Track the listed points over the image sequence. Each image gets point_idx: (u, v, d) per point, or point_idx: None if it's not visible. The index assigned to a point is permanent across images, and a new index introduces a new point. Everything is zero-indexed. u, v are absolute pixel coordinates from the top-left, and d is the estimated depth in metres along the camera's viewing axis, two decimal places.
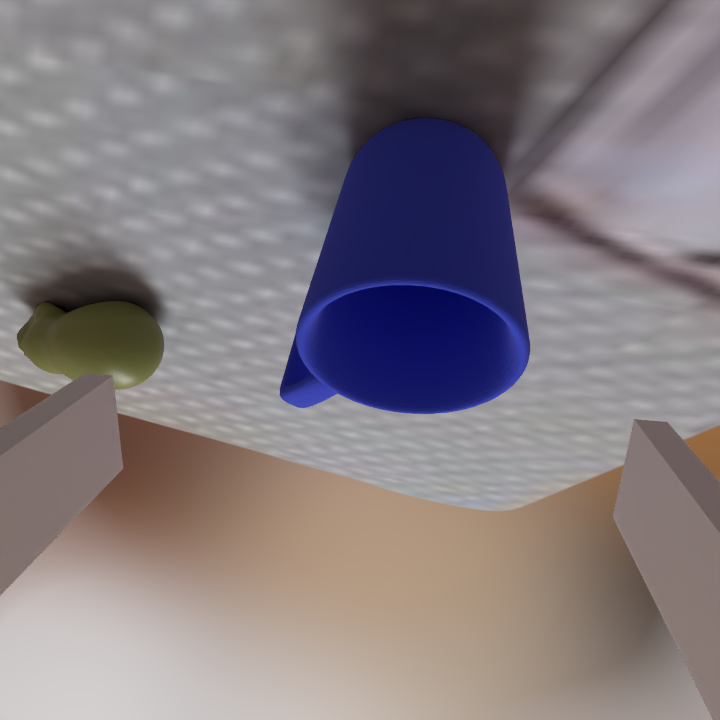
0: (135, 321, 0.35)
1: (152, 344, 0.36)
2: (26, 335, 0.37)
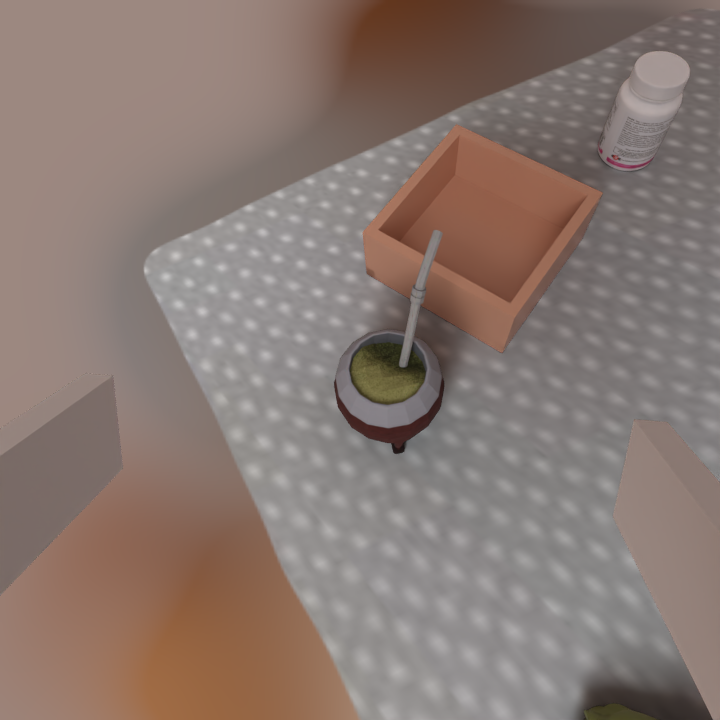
0: None
1: None
2: (621, 713, 0.32)
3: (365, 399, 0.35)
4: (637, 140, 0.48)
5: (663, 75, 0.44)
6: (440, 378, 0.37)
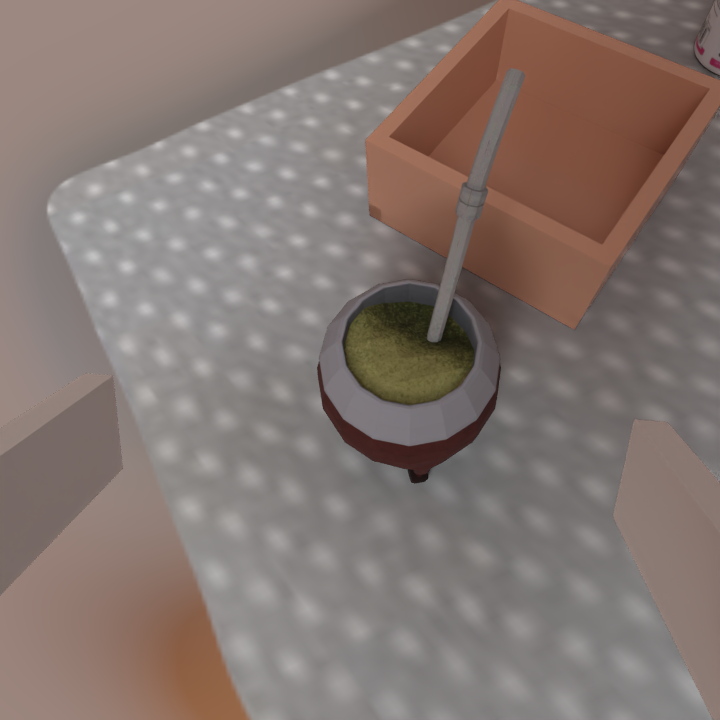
0: None
1: None
2: None
3: (370, 395, 0.20)
4: None
5: None
6: (498, 361, 0.22)
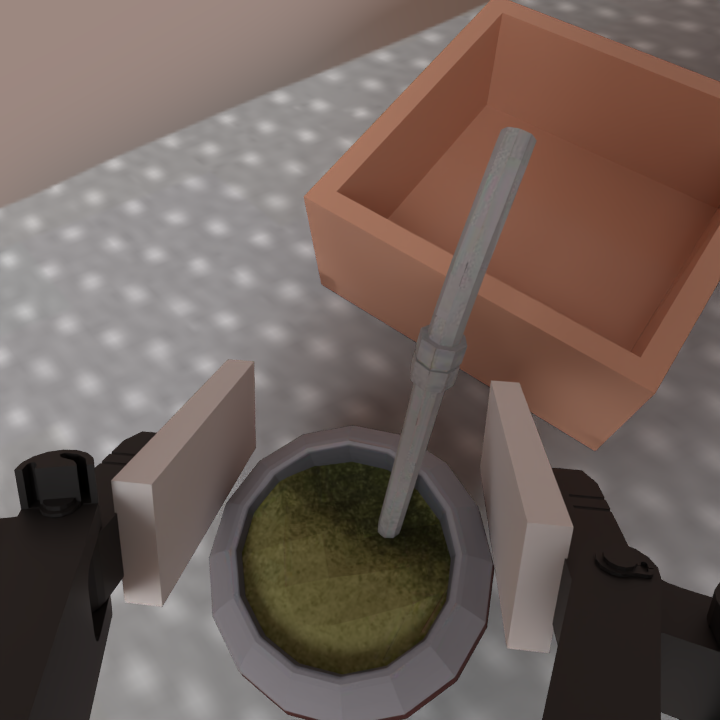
0: None
1: None
2: None
3: (275, 656, 0.12)
4: None
5: None
6: (489, 572, 0.14)
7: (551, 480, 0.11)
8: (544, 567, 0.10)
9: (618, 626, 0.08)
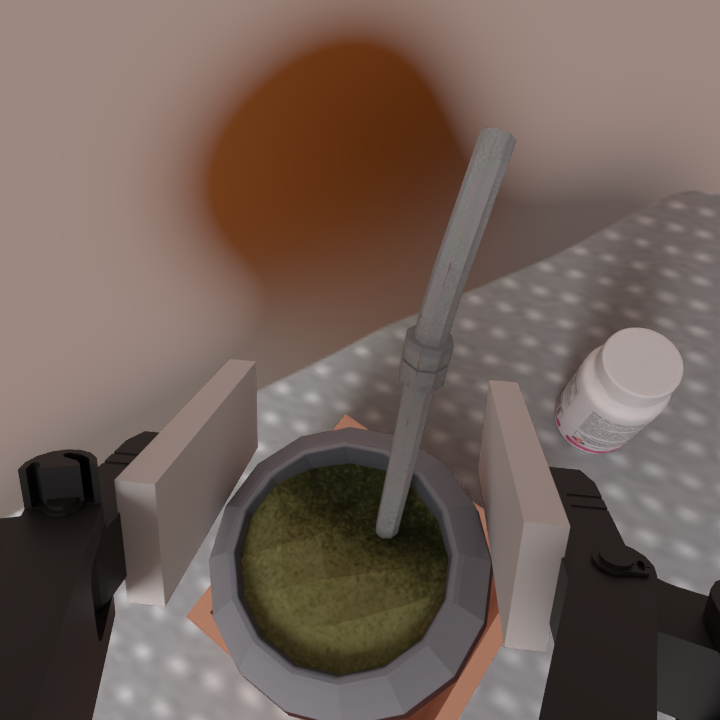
0: None
1: None
2: None
3: (273, 656, 0.12)
4: (606, 435, 0.33)
5: (644, 375, 0.30)
6: (487, 571, 0.14)
7: (548, 479, 0.11)
8: (541, 566, 0.10)
9: (614, 625, 0.08)
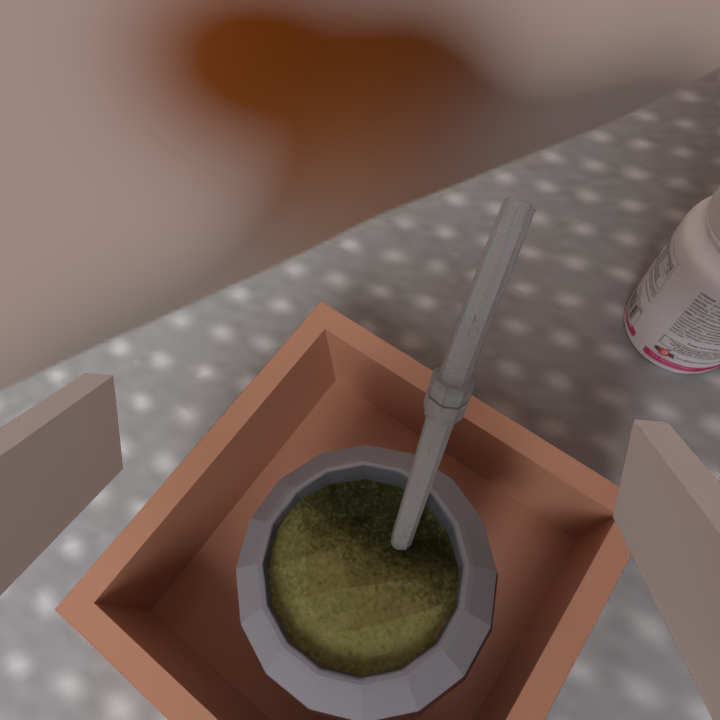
0: None
1: None
2: None
3: (301, 660, 0.13)
4: (716, 334, 0.22)
5: None
6: (493, 580, 0.15)
7: None
8: None
9: None
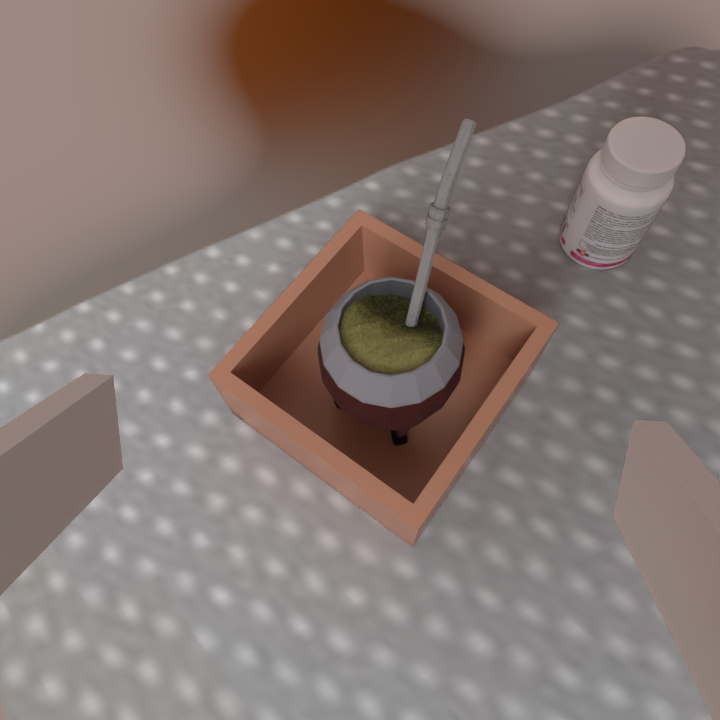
0: None
1: None
2: None
3: (360, 367, 0.26)
4: (610, 235, 0.34)
5: (648, 154, 0.31)
6: (461, 342, 0.27)
7: None
8: None
9: None
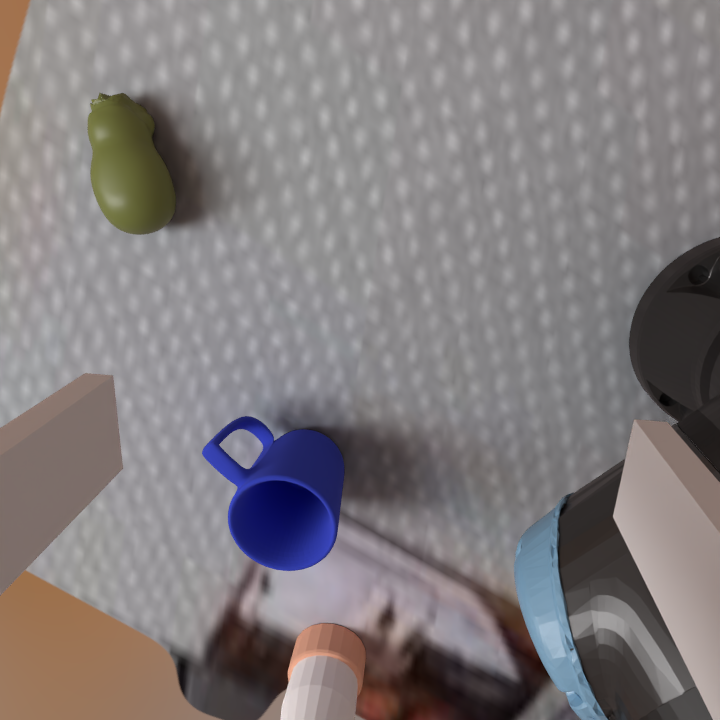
0: (168, 222, 0.45)
1: (148, 233, 0.45)
2: (132, 114, 0.42)
3: None
4: None
5: None
6: None
7: None
8: None
9: None
